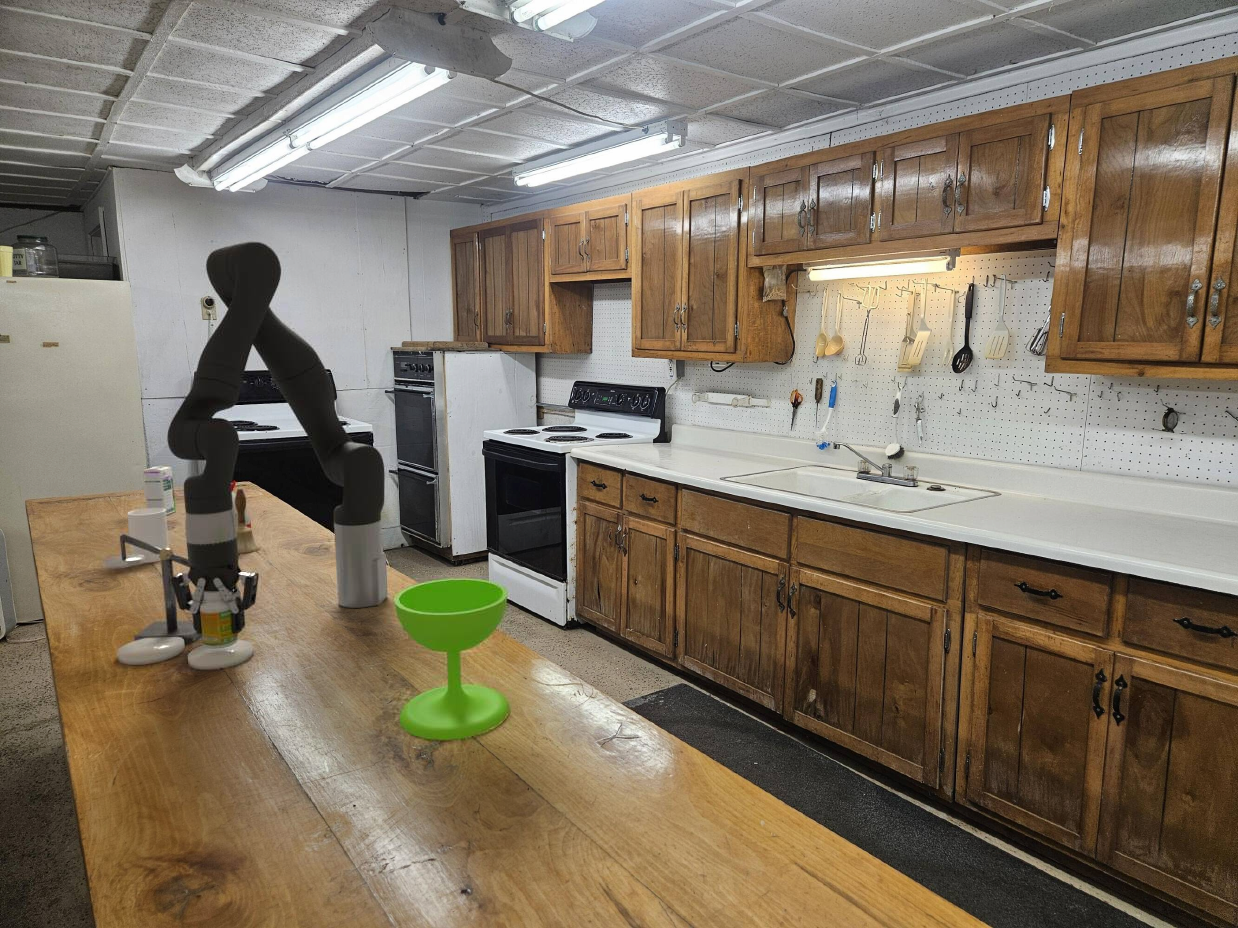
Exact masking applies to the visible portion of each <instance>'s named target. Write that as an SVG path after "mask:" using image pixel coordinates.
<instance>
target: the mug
mask: <svg viewBox="0 0 1238 928" xmlns="http://www.w3.org/2000/svg"><path fill="white" fill-rule="evenodd" d="M167 521H168V520H167V515H166V510H165V509H163V508H147V507H146V508H140V509H139V508H137V509H133V510H130V511H128V512H127V522H128V533H129V536H130V537H133V538H135V539H138V540H140V541H143V542H145V543H148V544H150V545H153V546H155V547H158V548H161V549H163V548H170V544H169V532H168V522H167ZM130 554H141V555H144V556H145V562H144V563H143V564H148V563H149V564H151V563H156V562H161V559H160V558H159V556H158V555H157V554H154V553H152V552H149V551H147V550H144V549H142V548H139V547H137V546H134V545H131V544H130Z"/></svg>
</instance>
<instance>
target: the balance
mask: <svg viewBox="0 0 1238 928" xmlns="http://www.w3.org/2000/svg"><path fill="white" fill-rule="evenodd" d="M119 542H120V550H121V551H120V552H121V554H120V555H114V556H111V557H108V558H105V559H104V560H103V561H102V565H103V566H102V567H104V569H105V568H106V569H124V568H130V567H136V566H139V565H142V564H145V563H144V562H145V556H144V555H141V554H131V553H130V554H127V550H126V549H127V548H126V543H127V544H129V545H130V546H131V545H134V546H137V547H139V548H142V549H144V550H147V551H149V552H152V553H154V554H157V555H158V556H159V558H160V559H161V561H160V566H161V567H160V568H161V577H162V586H163V589H162V590H163V599H164V608H165V609H164V610H165V618H166V619H165V620H166V621H153V622H152V623H151V624H149V625H147V627H145V628H143V629H142V630H141V631H139V632H138V633H137V634H135V635H134V638H133V639H134V641H136V640H140V639H144V638H149V637H176V636H177V637H181V638H183V639H184V644H185V643H195V642H196V641H197V640H198V639H199V638H200V637H201V636H202V634H197V631H195V630H194V626H193V625H194V624H193V620H186V621H185V620H184V621H181V620H180V621H179V619H178V617H179V616H178V610H177V609H178V608H177V598H176V595H175V592H174V588H173V585H172V582H171V578H172V577H174V576H175V574H174V573H175V572H174V564H173V562H175V563H177V564H179V565H182V566H185V567H188V568H190V566H189V563H188V558H185V557H183V556H181V555H177V554H175V552H174V551H173V550H172V548H170V547H169V548H163V549H161V548H158V547H155V546H153V545H150V544H148V543H145V542H143V541H140V540H138V539H135V538H133V537H130V535H127V534H124V533H123V534H122V535H119ZM194 593H195V592H194ZM194 593H191V594H192V597H193V596H194ZM230 594H231V592H230Z"/></svg>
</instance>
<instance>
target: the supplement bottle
mask: <svg viewBox="0 0 1238 928" xmlns="http://www.w3.org/2000/svg"><path fill="white" fill-rule="evenodd" d="M203 597H204V599H205V600H206V601H204V602H203V603H202V604H201V606H200V616H201V627H202V635H201V636H202V646H204V647H206V648H209V649H219V648H225V647H229V646H231V645H233V644H235V643H236V642H237V641H238V640H239V633H238V634H233V632H232V620H231V614H232V613H233V612H232V611H231V609H230V607H229V605H228V603H226V602H225V601H224V599H223V597H222V595H221V594H220V592H219V591H204V592H203Z"/></svg>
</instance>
